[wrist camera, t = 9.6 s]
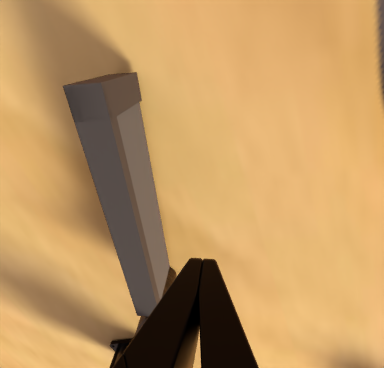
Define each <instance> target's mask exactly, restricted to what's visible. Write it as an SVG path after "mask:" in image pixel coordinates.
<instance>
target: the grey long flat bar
mask: <svg viewBox="0 0 384 368" xmlns="http://www.w3.org/2000/svg"><path fill="white" fill-rule="evenodd" d="M63 88H64V91H65V94H66V98H67V101H68V104H69V107H70V110H71V113H72V116H73V119H74V122H75V125H76V128H77V131H78V135H79V138H80V141H81V144H82V147H83V150H84V153H85V156H86V159H87V162H88V165H89V168H90V172H91V175H92V178H93V181H94V184H95V187H96V190H97V193H98V196H99V199H100V202H101V205H102V209H103V212H104V215H105V218H106V221H107V224H108V227H109V230H110V233H111V236H112V239H113V242H114V245H115V249H116V252H117V255H118V258H119V261H120V264H121V267H122V270H123V273H124V276H125V279H126V282H127V286H128V289H129V292H130V295H131V298H132V301H133V304H134V307H135V310H136V313H137V316H149V315H150V314H151V312H152V311H153V310H154V308H155V307H156V305H157V304H158V303H159V301H160V300H161V298H162V294H163V291H164V287H165V283H166V279H167V275H168V271H169V267H170V265H169V260H168V254H167V249H166V244H165V238H164V233H163V227H162V222H161V217H160V211H159V206H158V200H157V195H156V190H155V184H154V179H153V173H152V168H151V163H150V157H149V152H148V147H147V141H146V136H145V130H144V125H143V120H142V114H141V109H140V103H139V102H140V101H142V99H141V94H140V88H139V83H138V77H137V72H134V73H123V74H111V75H105V76H101V77H97V78H93V79H89V80H85V81H80V82H76V83H72V84H68V85H64V86H63Z"/></svg>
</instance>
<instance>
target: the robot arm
mask: <svg viewBox="0 0 384 368" xmlns="http://www.w3.org/2000/svg"><path fill="white" fill-rule="evenodd" d="M199 329H200V349H201V368H259V367H258V365H257V362H256V360H255V357H254V355H253V352H252V350H251V347H250V345H249V342H248V340H247V337H246V335H245V332H244V330H243V327H242V325H241V322H240V320H239V317H238V315H237V312H236V310H235V307H234V305H233V302H232V300H231V297H230V295H229V292H228V290H227V287H226V285H225V282H224V280H223V277H222V275H221V272H220V270H219V267H218V265H217V262H216V260H214V259H203V260H202V259H201V258H190V259H189V260H188V262H187V263H186V265H185V266H184V267H183V269H182V270H181V272H180V273H179V274H178V276H177V277H176V279H175V280H174V281H173V283H172V284H171V286H170V287H169V288H168V290H167V291H166V293H165V294H164V296H163V297H162V298H161V300H160V301H159V303H158V304H157V305H156V307H155V308H154V310H153V311H152V312H151V314H150V315H149V317H148V318H147V320H146V321H145V322H144V324H143V325H142V327H141V328H140V329H139V331H138V332H137V334H136V335H135V336H134V338H133V339H129V340H120V341H112V342H111V344H110V347H111V348H112V349H113V350H114V351H115V354H114V357H113V359H112V362H111V365H110V368H193V363H194V358H195V352H196V347H197V342H198V336H199Z"/></svg>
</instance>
